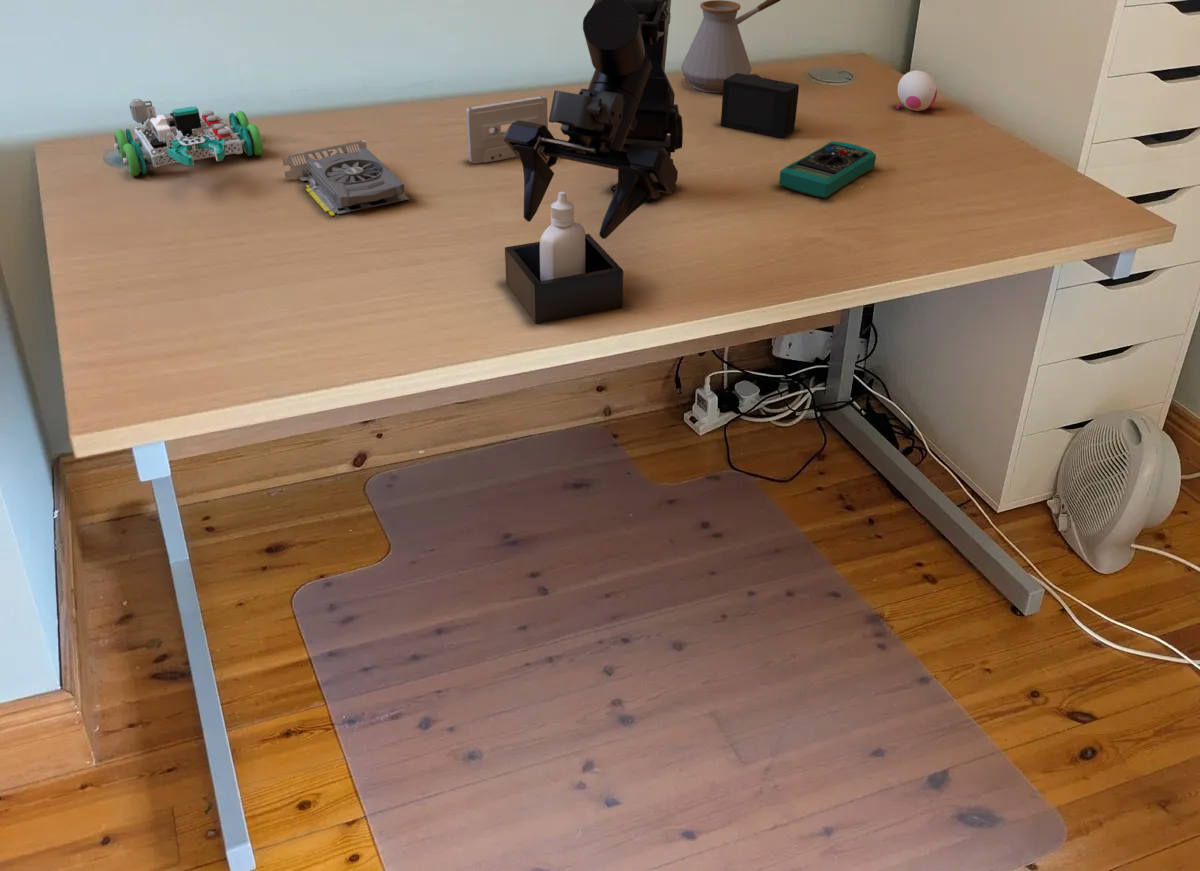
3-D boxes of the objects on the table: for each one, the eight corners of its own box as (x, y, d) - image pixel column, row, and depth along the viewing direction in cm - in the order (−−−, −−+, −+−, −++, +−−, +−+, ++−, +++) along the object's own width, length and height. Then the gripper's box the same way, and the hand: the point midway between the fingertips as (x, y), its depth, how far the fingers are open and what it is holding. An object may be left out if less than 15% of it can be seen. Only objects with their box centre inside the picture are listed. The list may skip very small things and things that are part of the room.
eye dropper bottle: (532, 291, 126) (529, 189, 119) (579, 282, 128) (579, 181, 121) (546, 308, 123) (544, 204, 116) (594, 299, 124) (594, 196, 118)
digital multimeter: (876, 168, 157) (879, 148, 156) (825, 201, 148) (828, 180, 146) (829, 157, 161) (832, 136, 159) (776, 188, 151) (778, 167, 150)
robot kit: (148, 213, 143) (131, 141, 138) (112, 150, 161) (96, 84, 156) (293, 186, 151) (282, 117, 145) (243, 129, 169) (232, 65, 163)
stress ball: (926, 137, 177) (958, 103, 174) (889, 107, 175) (920, 73, 172) (918, 119, 184) (948, 86, 180) (881, 90, 181) (911, 56, 178)
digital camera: (798, 128, 171) (803, 81, 167) (783, 138, 167) (788, 91, 163) (736, 115, 175) (740, 70, 171) (720, 125, 172) (723, 79, 168)
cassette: (472, 165, 157) (469, 111, 153) (467, 161, 158) (463, 107, 154) (550, 151, 162) (549, 98, 158) (544, 147, 163) (543, 94, 159)
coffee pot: (701, 100, 181) (707, 2, 173) (668, 80, 190) (672, -14, 181) (813, 84, 189) (824, -11, 180) (776, 65, 197) (785, -26, 189)
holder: (506, 283, 127) (504, 247, 125) (588, 269, 131) (588, 233, 128) (535, 324, 120) (534, 285, 117) (622, 307, 123) (623, 270, 120)
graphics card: (279, 153, 151) (365, 136, 156) (284, 180, 153) (368, 162, 158) (318, 198, 139) (410, 178, 144) (323, 226, 141) (413, 206, 146)
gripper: (509, 44, 119) (457, 178, 117) (671, 69, 112) (618, 213, 110) (548, 98, 129) (501, 223, 127) (699, 125, 122) (650, 257, 120)
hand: (563, 228), depth 121 cm, fingers open, 9 cm apart
